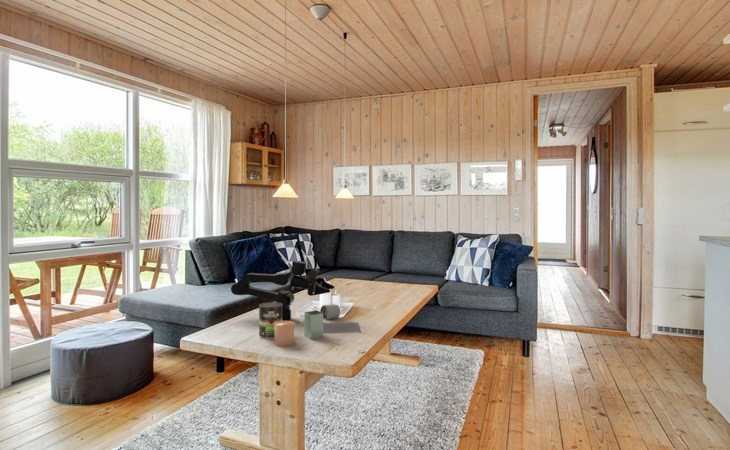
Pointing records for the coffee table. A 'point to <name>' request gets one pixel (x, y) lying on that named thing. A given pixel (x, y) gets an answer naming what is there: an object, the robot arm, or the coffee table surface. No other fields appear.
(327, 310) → the ceramic mug
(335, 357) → the coffee table surface
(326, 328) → the mat
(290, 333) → the pink rounded cylinder
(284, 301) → the robot arm
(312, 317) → the tin
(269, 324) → the coffee can
